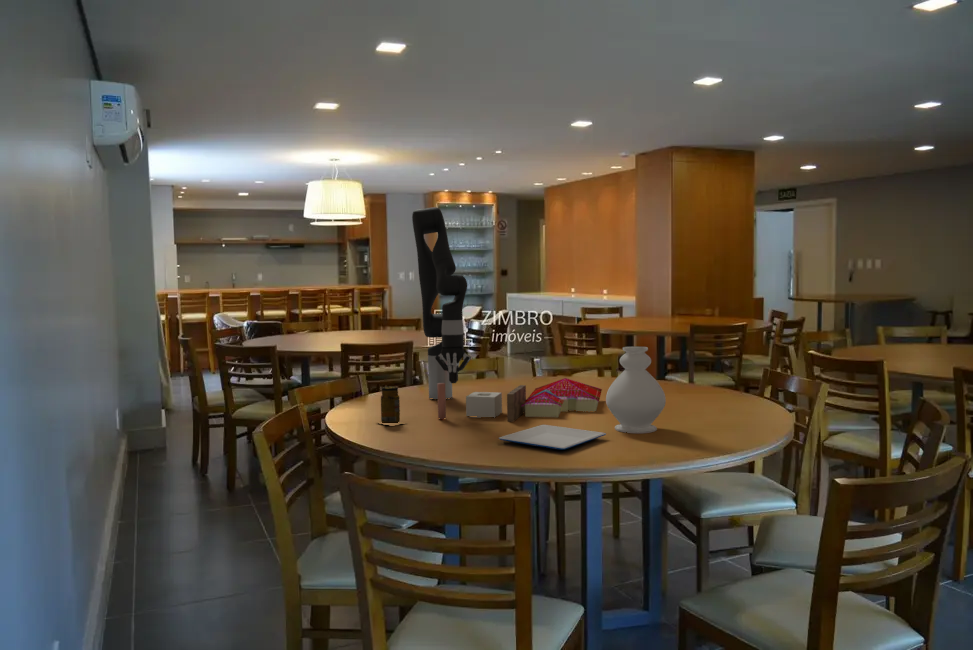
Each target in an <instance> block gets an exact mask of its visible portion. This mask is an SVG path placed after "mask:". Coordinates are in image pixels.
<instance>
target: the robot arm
mask: <svg viewBox="0 0 973 650" xmlns="http://www.w3.org/2000/svg"><path fill="white" fill-rule="evenodd" d="M411 215H412V217H411V218H412V219H411V220H412V227H413V234H414V239H415V246H416V252H417V253H416V254H417V265H418V267H417V268H418V269H417V270H418V278H419V286H420V293H421V304H422V327H423V333H424V335H425V337H427V338H432V339H433V338H441V341H440V342H439V343H438V344H435V345H432V346H430V347H429V348H427V370H428V371H427V373H428V374H427V375H428V377H427V378H428V399H429V398H433V399H438V388H437V384H438V383H445V397H446V398H451V397H452V398H453V384H457V382H458V381H459V372H460V371H463V370H464V369H465V367H466V366H467V365H468V363H469V362H470V361H471V360H472V357H471V355H468V354H467V353H466V350H465V347H464V346H465V344H464V343H465V342H464V340H465V339H464V338H465V337H464V333H465V332H464V331H465V330H464V317H463V307H464V302H465V296H466V294H467V290H468V282H467V279H466V277H465V276H464V275H461V274H455V272H456V270H457V269H456V268H457V267H456V264H455V260H454V257H453V255H452V251H451V248H450V244H449V238H448V234H447V228H446V224H445V218H444V215H443V212H442V211H441V209H440V208H439V207H436V206H435V207H433V206H432V207H426V208H420V209H415V210H414V211H413V212H412V213H411ZM436 233H437V238H436V240H435V241H436V242H435V244H434V246H433V249H430V247H429V246H428V245H429V244H428V243H427V241H426V239H425V235H428V234H436ZM454 274H455V275H454ZM439 295H441V296H445V297H450V296H451V297H452V296H454V298H453V300H452V301H449V302H445V303H444V304H443V305H442V307H441V313H432V309H433V305H434V302H435V300H436V299H437V297H438V296H439ZM461 360H462V362H461ZM460 362H461V364H460ZM452 398H451V399H452Z"/></svg>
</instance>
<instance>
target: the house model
mask: <svg viewBox="0 0 973 650" xmlns="http://www.w3.org/2000/svg"><path fill="white" fill-rule="evenodd" d="M602 391H603V388H599V387H596V386H592V385H589V384H586V383H583V382H580V381H578V380H573V379H569V378H567V377H564V378H562V379H559V380H555V381H552V382H550V383H548V384H545V385H541V386H538V387H536V388H535V389H534V390H533V391H532V392H531V393H530V395H529V396H528V397H526V401H525V402H524V403H523V405H525V412H524V415H525V417H526V418H528V417H529V418H559V416H560V415H561V412H569V411H574V410H576V412H577V411H583V412H584V411H585V412H584V413H587V412H586V411H588V413H591V412H590V411H593V412H592V413H595V412H594V411H596V412H597V408H598V405H599V402H600V399H601V395H602ZM523 405H522V406H523ZM568 410H569V411H568ZM583 412H582V413H583Z"/></svg>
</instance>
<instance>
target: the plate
mask: <svg viewBox="0 0 973 650" xmlns="http://www.w3.org/2000/svg"><path fill="white" fill-rule="evenodd" d="M606 435H607V433H605V432H600V431H594V430H585V429H579V428H572V427H565V426H558V425H557V426H556V425H550V424H540V425H537V426H533V427H530V428H527V429H523V430H519V431H516V432H513V433H509V434H506V435H503V436H499V437H498V439H499V440H500V441H504V442H505V441H506V442H510V443H515V444H521V445H528V446H533V447H534V446H535V447H539V448H545V447H546V448H547V449H553V450H558V451H561V450H563V451H565V450H567V449H570V448H573V447H576V446H579V445H581V444H584V443H587V442H591V441H593V440H595V439H598V438H601V437H604V436H606Z"/></svg>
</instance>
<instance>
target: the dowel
mask: <svg viewBox="0 0 973 650" xmlns="http://www.w3.org/2000/svg"><path fill="white" fill-rule="evenodd" d="M437 388H438V400H437V416H438V417H437V419H438V418H440V419H444V418H446V419H447V411H446V410H447V409H446V408H447V407H446V405H447V401H446V397H445V383H438V384H437Z"/></svg>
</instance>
